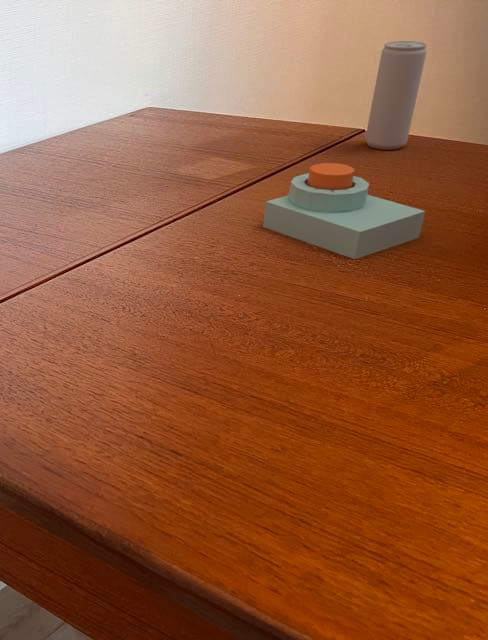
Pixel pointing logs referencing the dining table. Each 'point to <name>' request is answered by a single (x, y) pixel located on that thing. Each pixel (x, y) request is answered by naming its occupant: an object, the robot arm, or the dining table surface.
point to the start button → (330, 176)
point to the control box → (342, 218)
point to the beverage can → (395, 94)
